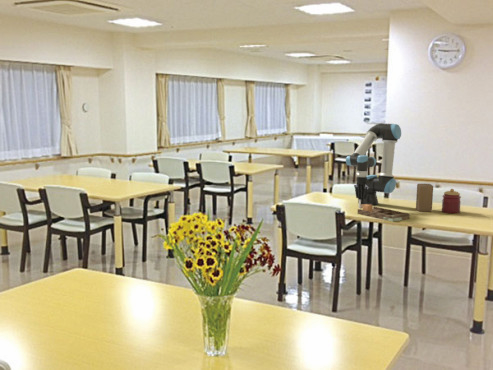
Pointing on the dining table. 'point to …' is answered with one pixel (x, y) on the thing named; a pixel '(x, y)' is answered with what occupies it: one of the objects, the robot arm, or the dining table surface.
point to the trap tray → (385, 214)
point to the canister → (451, 202)
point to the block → (424, 197)
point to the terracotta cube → (368, 207)
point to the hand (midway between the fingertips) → (360, 208)
